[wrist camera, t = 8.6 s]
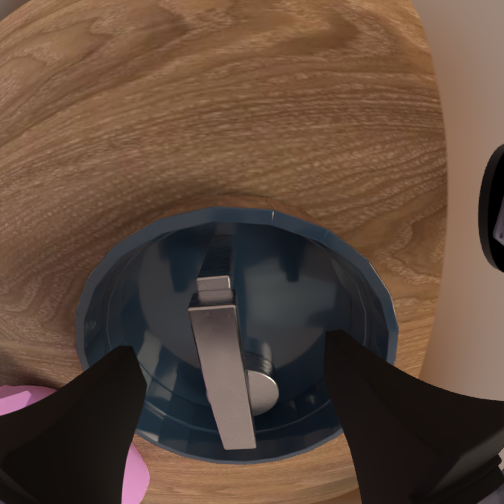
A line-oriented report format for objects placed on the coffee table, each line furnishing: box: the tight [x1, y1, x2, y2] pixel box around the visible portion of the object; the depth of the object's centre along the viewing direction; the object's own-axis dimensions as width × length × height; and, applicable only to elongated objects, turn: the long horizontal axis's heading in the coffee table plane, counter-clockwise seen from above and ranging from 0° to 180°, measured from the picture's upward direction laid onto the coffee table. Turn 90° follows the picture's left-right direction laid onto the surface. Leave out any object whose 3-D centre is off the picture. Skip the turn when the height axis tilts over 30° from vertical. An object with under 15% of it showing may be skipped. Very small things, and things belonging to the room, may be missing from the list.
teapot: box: [0, 385, 150, 504], centre depth 13 cm, size 22×16×12 cm
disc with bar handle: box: [187, 235, 279, 450], centre depth 12 cm, size 10×4×6 cm, turn 5°
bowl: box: [75, 194, 399, 465], centre depth 13 cm, size 14×14×4 cm
